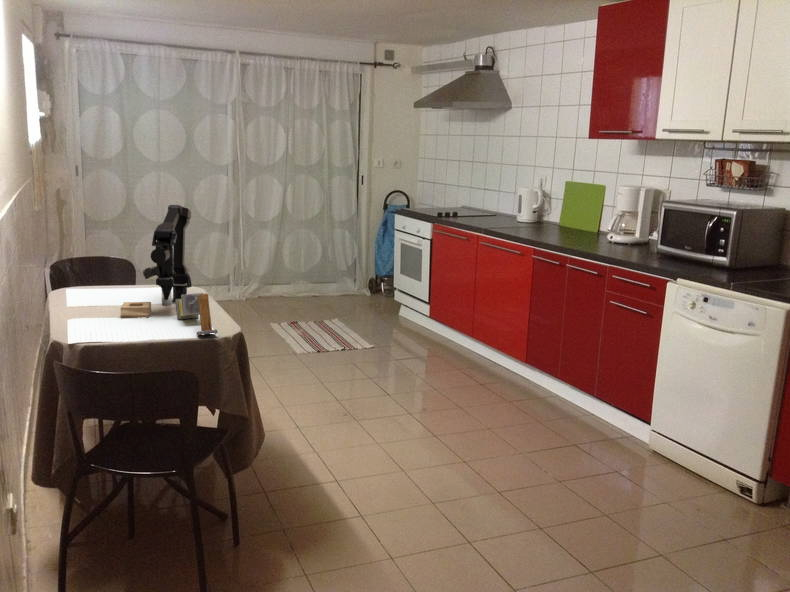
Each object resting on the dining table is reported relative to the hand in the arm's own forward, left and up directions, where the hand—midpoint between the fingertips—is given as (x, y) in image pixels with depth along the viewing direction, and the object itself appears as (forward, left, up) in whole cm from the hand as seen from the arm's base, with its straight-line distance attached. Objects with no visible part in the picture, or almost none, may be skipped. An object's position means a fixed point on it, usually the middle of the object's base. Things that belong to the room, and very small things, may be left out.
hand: (166, 298), depth 274 cm
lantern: (+25, +12, -6) cm, 28 cm away
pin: (0, 0, -3) cm, 3 cm away
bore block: (+4, -11, -5) cm, 13 cm away
